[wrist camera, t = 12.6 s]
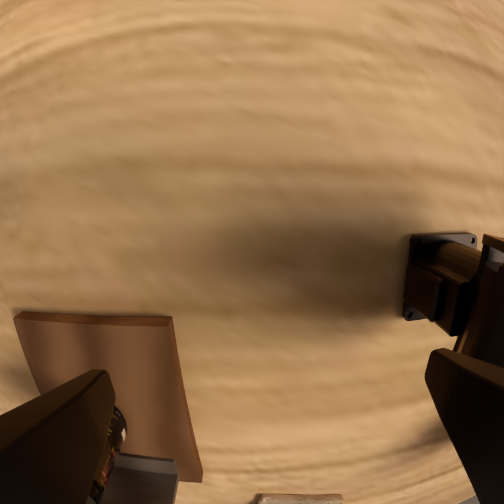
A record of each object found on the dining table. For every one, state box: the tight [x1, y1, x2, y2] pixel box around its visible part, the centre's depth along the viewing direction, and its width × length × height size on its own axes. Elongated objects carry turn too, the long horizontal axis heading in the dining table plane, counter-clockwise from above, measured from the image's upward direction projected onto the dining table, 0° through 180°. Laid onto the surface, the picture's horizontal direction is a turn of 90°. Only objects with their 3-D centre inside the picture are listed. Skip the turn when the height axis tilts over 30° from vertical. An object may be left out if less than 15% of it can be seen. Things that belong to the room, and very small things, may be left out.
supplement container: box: [86, 405, 128, 504], centre depth 17 cm, size 6×6×9 cm
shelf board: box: [13, 311, 203, 504], centre depth 17 cm, size 14×18×12 cm
